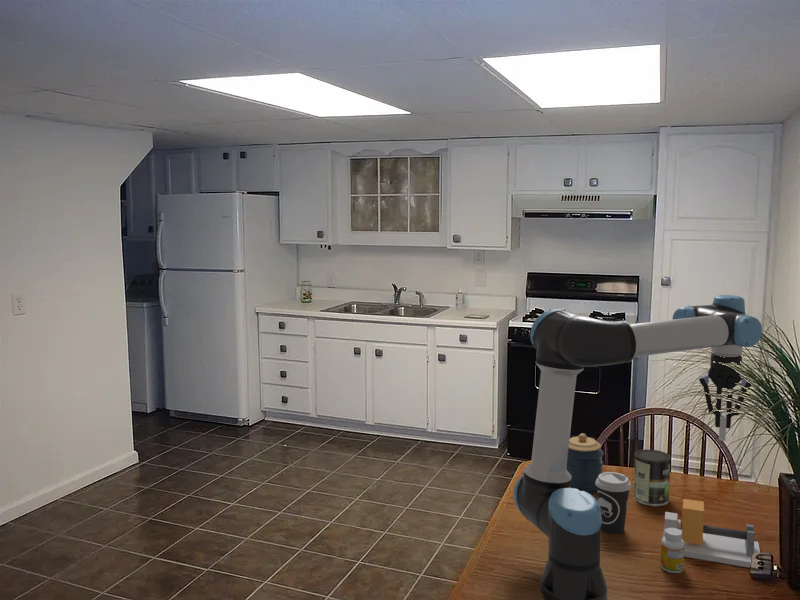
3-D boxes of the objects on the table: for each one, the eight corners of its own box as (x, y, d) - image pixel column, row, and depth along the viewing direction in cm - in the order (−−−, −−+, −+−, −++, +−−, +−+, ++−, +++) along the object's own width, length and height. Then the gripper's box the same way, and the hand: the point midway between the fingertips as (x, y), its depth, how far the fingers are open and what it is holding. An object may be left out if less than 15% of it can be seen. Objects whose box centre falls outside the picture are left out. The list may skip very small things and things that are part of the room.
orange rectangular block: (702, 544, 177) (704, 511, 175) (681, 541, 179) (682, 508, 177) (702, 534, 182) (703, 501, 181) (681, 531, 184) (683, 498, 183)
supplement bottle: (660, 560, 174) (661, 524, 173) (683, 564, 172) (685, 528, 171) (660, 571, 169) (661, 534, 168) (683, 575, 167) (685, 538, 166)
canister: (554, 480, 225) (555, 428, 222) (591, 477, 227) (592, 425, 225) (571, 497, 212) (572, 442, 210) (610, 493, 215) (611, 439, 212)
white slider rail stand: (762, 569, 169) (763, 540, 168) (662, 552, 178) (663, 524, 177) (757, 547, 180) (759, 519, 179) (664, 532, 189) (665, 505, 188)
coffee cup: (632, 538, 186) (633, 485, 184) (595, 535, 188) (596, 483, 186) (627, 522, 195) (629, 472, 193) (592, 519, 197) (594, 469, 195)
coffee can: (671, 496, 212) (673, 452, 210) (665, 509, 203) (667, 463, 201) (637, 489, 217) (638, 446, 215) (629, 501, 208) (631, 457, 206)
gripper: (752, 352, 183) (747, 437, 186) (699, 349, 188) (695, 431, 191) (755, 358, 176) (750, 446, 180) (699, 354, 181) (695, 440, 185)
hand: (722, 438), depth 185 cm, fingers closed
